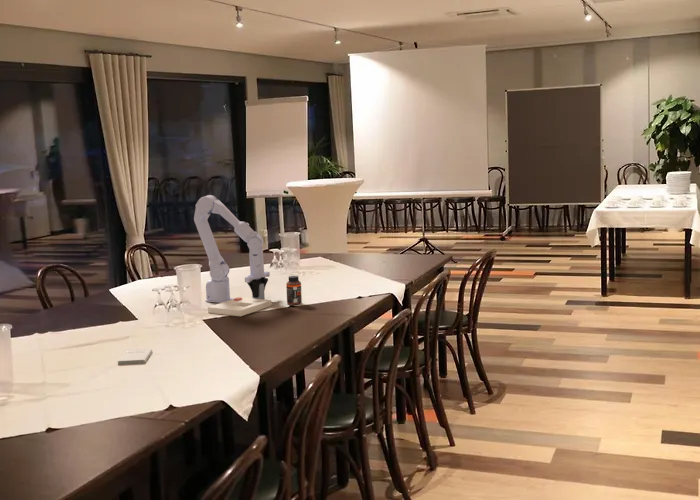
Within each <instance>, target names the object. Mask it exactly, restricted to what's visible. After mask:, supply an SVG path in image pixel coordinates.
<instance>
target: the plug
mask: <svg viewBox="0 0 700 500" xmlns="http://www.w3.org/2000/svg"><path fill="white" fill-rule="evenodd" d="M251 295H252V296H251V298H255V297H253V294H252V293H251ZM265 298H266V297H265V290H264V283H260V285H259V296H258V298H255V299H265ZM265 300H266V299H265Z"/></svg>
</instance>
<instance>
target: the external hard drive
mask: <svg viewBox="0 0 700 500" xmlns="http://www.w3.org/2000/svg"><path fill="white" fill-rule="evenodd" d="M152 353H153V349H152V348H143V349H142V348H141V349H128V350H126V351H124V353H123V354H122V355H121V357H120V358H119V360H118V361H117V365H120V366H121V365H137V364H138V363H141V364H146V363H147V362H148V360H149V358H150V357H149V356H151V355H152ZM150 354H151V355H150ZM148 357H149V358H148ZM147 359H148V360H147ZM145 362H146V363H145ZM138 365H139V364H138Z"/></svg>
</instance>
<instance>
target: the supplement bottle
mask: <svg viewBox="0 0 700 500" xmlns="http://www.w3.org/2000/svg"><path fill="white" fill-rule="evenodd" d="M285 287H286V303H287V305H289V306H298V305H301V304H302V303H303V301H302V300H303V298H302V282H301V281H300V279H299V275H289V276H288V281H286V286H285Z"/></svg>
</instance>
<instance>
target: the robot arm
mask: <svg viewBox="0 0 700 500" xmlns="http://www.w3.org/2000/svg"><path fill="white" fill-rule="evenodd" d="M211 213H212V214H217V215H219V216H221V217H222V218H223V219H224V220H225V221H226V222H228V223H229V224H230V225H231V226H232V227H233V228H234V229H233V231H234V233H235V234H236V235H237V236H238V237H239V238H241V240H243V242H245V243H247V244H246V245H247V247H248V249H249V254H248V256H249V270H250V271H249V275H248V276H245V277H244V283H246V284H247V285H248V286H249V288H250V290H251V291H250V292H251V295H252V294H253V297H255V298H258V296H259V285H260V283H264V291H266V287H267V283H268V282H269V278H267V277H271V276H270V275H271V272H270V271H265V262H264V260H265V259H264V248H263V246H264V237H263V236H262V234H259V233H258V231H254V229H253V228H251V226H250V223H248V222H246V221H240V220H239V219H238V218H237V216H235V215H234V214H233V212H231V211H230V209H228V207H227V206H226V205H225V204H224V203H223V202H221V200H220V199H218V198H217V197H216V196H215V195H212V194H207V195H205V196H202V197H200V198H199V199H198V200H197V202H196V204H195V210H194V216H193V221H194V222H193V223H194V224H195V227H196V230H197V233H198V234H199V237H200V240H201V242H202V244H203V248H204V250H205V253H206V255H207V258H208V267H209V276H210V278H211V279H208V280H207V282H206V284H205V294H206V296H205V297H206V299H205V302H209V303H216V304H219V303H222V302H226V301H229V300H232V299H235V298H234V297H231V291H230V278H229V276H228V275H229V274H230V267H229V265H228V264H227V262H226V261H225V260H224V258H223V256H222V255H221V252H220V250H219V247H218V244H217V241H216V240H215V236H214V234H213V231H212V229H211V227H210V223H209V221H208V219H209V217H210V216H211Z"/></svg>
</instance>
